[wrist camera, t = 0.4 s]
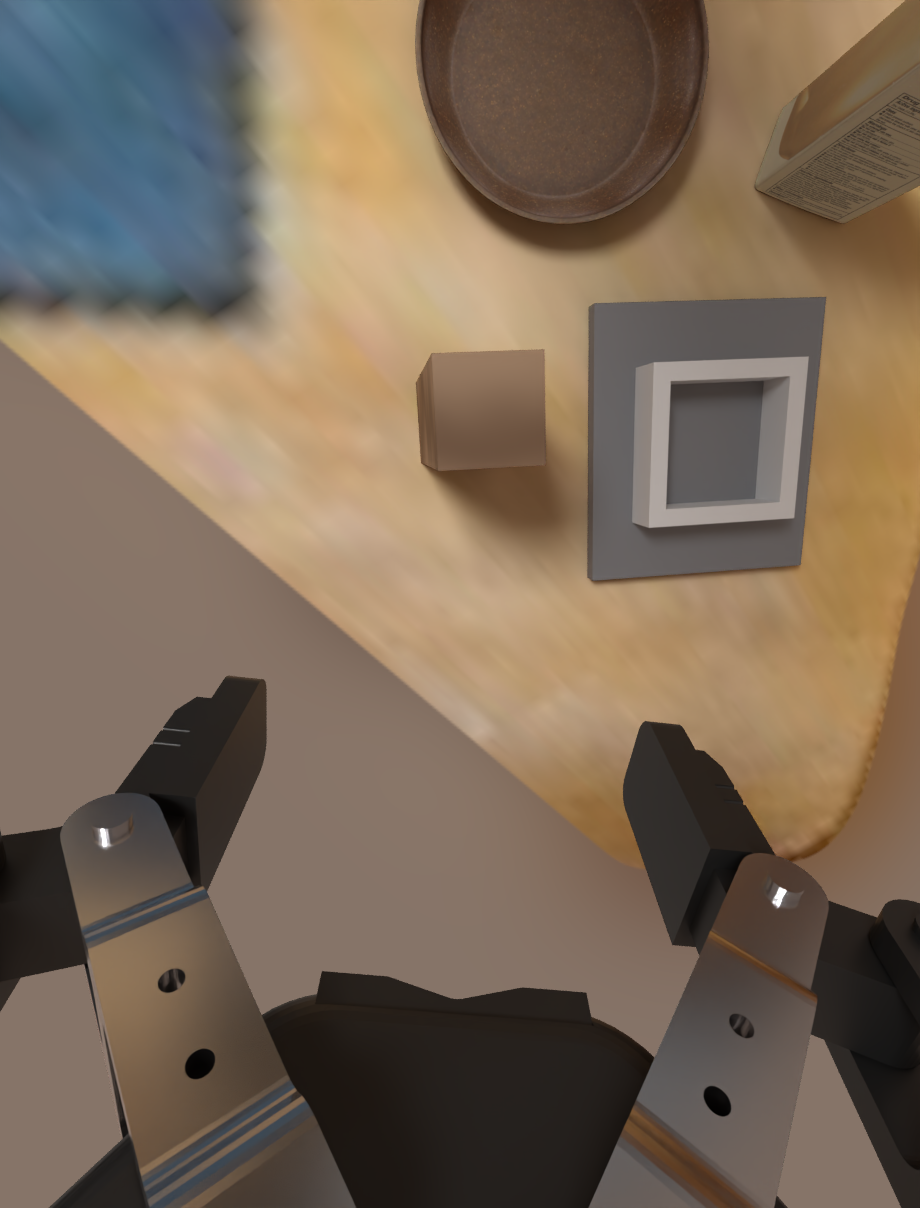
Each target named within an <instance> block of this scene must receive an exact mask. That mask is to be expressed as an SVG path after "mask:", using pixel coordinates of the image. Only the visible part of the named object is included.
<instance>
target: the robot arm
mask: <svg viewBox="0 0 920 1208" xmlns="http://www.w3.org/2000/svg"><path fill="white" fill-rule="evenodd" d="M163 728H164V729H163V731H160V732H159V734H158V735H157V737H156V738H155V739H154V741H153V745H150V746H149V747H148V749H147V750H146V752H145V753H144V754H143V756H142V757H141V758H140V760H139V761H138V762H137V764H136V765H135V767H134V768H133V770H132V771H131V772H130V773H129V775H128V776H127V777H126V779H125V780H124V782H123V783H122V784H121V786H120V787H119V789H118V790H117V791H116V792H115V794H111V795H107V796H103V797H101V798H98V799H95V800H93V801H91V802H89V803H87V804H85V805H83V806H82V807H80V808H79V809H78V810H76V811H75V812H74V813H73V814H72V815H71V816H70V817H69V818H68V819H67V820H66V822H65V823H64V825H63V826H61V827H58V828H52V829H47V830H40V831H32V832H26V833H19V834H11V835H4V836H1V832H0V1011H1V1010H2V1008H3V1006H4V1005H5V1003H6V1001H7V1000H8V998H9V996H10V995H11V993H12V991H13V990H14V988H15V986H16V985H17V983H18V981H19V979H20V978H21V977H25V976H30V975H35V974H40V973H44V972H49V971H54V970H58V969H63V968H68V967H72V966H77V965H82V964H83V965H84V970H85V974H86V978H87V983H88V987H89V992H90V996H91V1001H92V1005H93V1009H94V1014H95V1019H96V1023H97V1027H98V1032H99V1036H100V1041H101V1045H102V1050H103V1054H104V1059H105V1063H106V1068H107V1073H108V1078H109V1082H110V1087H111V1092H112V1097H113V1102H114V1107H115V1112H116V1117H117V1121H118V1126H119V1130H120V1135H121V1139H122V1140H121V1141H120V1142H119V1143H118V1144H117V1145H116V1146H115V1147H113V1148H112V1150H110V1151H109V1152H108V1153H107V1154H106V1155H105V1156H104V1157H103V1158H102V1159H101V1160H100V1161H98V1162H97V1163H96V1164H95V1165H94V1166H93V1167H92V1168H91V1169H90V1170H89V1171H88V1172H87V1173H86V1174H85V1175H83V1176H82V1177H81V1178H80V1179H79V1180H78V1181H77V1182H76V1183H75V1184H74V1185H73V1186H72V1187H71V1188H70V1189H68V1190H67V1191H66V1192H65V1193H64V1194H63V1195H62V1196H61V1197H60V1198H59V1199H58V1200H57V1201H56V1202H55V1203H53V1204H52V1205H51V1206H50V1208H787V1207H786V1205H784V1203H783V1202H782V1201H781V1200H780V1199H779V1197H778V1196H777V1191H778V1187H779V1182H780V1177H781V1172H782V1167H783V1163H784V1158H785V1153H786V1148H787V1144H788V1139H789V1134H790V1129H791V1125H792V1120H793V1115H794V1111H795V1106H796V1101H797V1096H798V1092H799V1086H800V1082H801V1077H802V1073H803V1068H804V1063H805V1058H806V1054H807V1049H808V1044H809V1039H810V1035H814V1036H816V1037H819V1038H821V1039H824V1040H825V1042H826V1045H827V1046H828V1048H829V1051H830V1053H831V1055H832V1058H833V1060H834V1062H835V1064H836V1066H837V1069H838V1071H839V1073H840V1075H841V1077H842V1079H843V1082H844V1084H845V1086H846V1088H847V1090H848V1093H849V1095H850V1097H851V1099H852V1101H853V1103H854V1106H855V1108H856V1110H857V1112H858V1114H859V1116H860V1119H861V1121H862V1123H863V1125H864V1127H865V1129H866V1132H867V1134H868V1136H869V1138H870V1140H871V1142H872V1145H873V1147H874V1149H875V1151H876V1153H877V1156H878V1158H879V1160H880V1162H881V1164H882V1166H883V1168H884V1171H885V1173H886V1175H887V1177H888V1180H889V1182H890V1184H891V1186H892V1188H893V1190H894V1192H895V1195H896V1197H897V1199H898V1201H899V1203H900V1206H901V1208H920V903H917V902H914V901H909V900H892V901H890V902H888V903H886V904H885V906H884V907H883V909H882V911H881V912H880V914H879V916H878V918H877V917H874V916H870V915H868V914H865V913H862V912H859V911H856V910H853V909H850V908H848V907H845V906H842V905H839V904H836V903H833V902H831V901H828V899H827V897H826V894H825V892H824V891H823V889H822V887H821V886H820V885H819V884H818V882H817V881H816V880H815V879H814V878H813V877H812V876H811V875H809V874H808V873H807V872H806V871H805V870H803V869H802V868H800V867H799V866H797V865H796V864H794V863H792V862H790V861H788V860H786V859H784V858H781V857H778V856H776V855H775V854H774V852H773V850H772V849H771V847H770V845H769V844H768V842H767V840H766V839H765V837H764V835H763V834H762V832H761V830H760V829H759V827H758V825H757V824H756V822H755V820H754V819H753V817H752V815H751V814H750V812H749V810H748V809H747V807H746V805H743V800H742V799H741V797H740V795H739V794H738V792H737V790H734V785H733V784H732V782H731V780H730V779H729V777H728V775H727V774H726V772H725V770H724V769H723V767H722V766H720V765H719V764H718V763H717V762H716V761H715V760H714V759H713V758H711V757H710V756H709V755H708V754H707V753H706V752H705V751H700V750H695V748H694V746H693V745H692V743H691V741H690V739H689V737H688V736H687V734H686V732H685V730H684V729H683V727H682V726H681V725H676V724H667V723H657V722H648V721H645V722H643V723H642V725H641V726H640V729H639V732H638V735H637V738H636V742H635V745H634V748H633V752H632V755H631V758H630V762H629V765H628V768H627V772H626V775H625V779H624V785H623V800H624V806H625V810H626V813H627V815H628V818H629V821H630V824H631V827H632V830H633V833H634V836H635V839H636V841H637V844H638V847H639V850H640V853H641V856H642V859H643V862H644V864H645V867H646V870H647V873H648V876H649V879H650V882H651V885H652V888H653V890H654V893H655V896H656V899H657V902H658V905H659V907H660V911H661V914H662V916H663V919H664V922H665V925H666V928H667V931H668V933H669V936H670V939H671V942H672V945H679V946H691V947H696V948H697V951H698V954H699V958H698V960H697V963H696V965H695V967H694V969H693V972H692V974H691V976H690V979H689V981H688V983H687V985H686V988H685V990H684V992H683V994H682V997H681V999H680V1001H679V1004H678V1006H677V1008H676V1010H675V1013H674V1015H673V1017H672V1020H671V1022H670V1024H669V1026H668V1029H667V1031H666V1033H665V1036H664V1038H663V1040H662V1042H661V1044H660V1047H659V1049H658V1051H657V1054H656V1056H655V1058H654V1057H653V1056H652V1055H651V1054H650V1053H649V1052H648V1051H647V1050H646V1049H645V1048H644V1047H642V1046H641V1045H640V1044H638V1043H637V1042H635V1041H634V1040H633V1039H632V1038H630V1037H629V1036H627V1035H626V1034H624V1033H623V1032H621V1031H619V1030H618V1029H616V1028H615V1027H613V1026H611V1025H608V1024H606V1023H604V1022H602V1021H600V1020H598V1019H595V1018H592V1017H591V1014H590V1010H589V1005H588V999H587V994H586V993H583V992H571V991H558V990H547V989H534V988H517V989H513V990H507V991H502V992H496V993H492V994H486V995H481V996H475V997H470V998H465V999H451V998H448V997H445V996H442V995H439V994H436V993H433V992H431V991H428V990H424V989H422V988H419V987H416V986H413V985H411V984H408V983H405V982H402V981H399V980H396V979H393V978H390V977H387V976H373V975H362V974H349V973H338V972H324V971H322V974H321V978H320V983H319V988H318V993H317V994H316V995H311V996H305V997H302V998H299V999H296V1000H292V1001H289V1002H287V1003H284V1004H282V1005H280V1006H278V1007H276V1008H273V1009H271V1010H270V1011H268V1012H266V1013H265V1014H263V1015H261V1013H260V1011H259V1008H258V1006H257V1004H256V1002H255V999H254V997H253V995H252V992H251V990H250V988H249V986H248V984H247V981H246V979H245V977H244V974H243V972H242V970H241V968H240V965H239V963H238V961H237V959H236V956H235V954H234V952H233V950H232V947H231V945H230V943H229V940H228V938H227V936H226V934H225V932H224V929H223V927H222V925H221V922H220V920H219V918H218V916H217V914H216V911H215V909H214V907H213V904H212V902H211V900H210V898H209V896H208V894H207V890H208V888H209V886H210V884H211V881H212V879H213V877H214V875H215V872H216V870H217V868H218V865H219V863H220V861H221V859H222V856H223V854H224V852H225V850H226V847H227V845H228V843H229V841H230V838H231V836H232V834H233V831H234V829H235V827H236V825H237V823H238V820H239V818H240V816H241V814H242V811H243V809H244V807H245V804H246V802H247V800H248V798H249V795H250V793H251V791H252V789H253V786H254V784H255V782H256V780H257V777H258V775H259V773H260V771H261V768H262V765H263V761H264V756H265V750H266V683H265V681H264V680H263V679H254V678H245V677H235V676H227V677H225V679H224V680H223V682H222V683H221V685H220V686H219V688H218V689H217V691H216V692H215V694H214V695H213V697H212V698H203V697H196V698H194V699H193V700H191V701H190V702H188V703H187V704H185V705H183V706H182V707H180V708H179V709H177V710H176V711H175V712H174V713H173V715H172V716H171V718H170V719H169V720H168V722H167V723H166V724H165V726H164V727H163Z"/></svg>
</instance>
